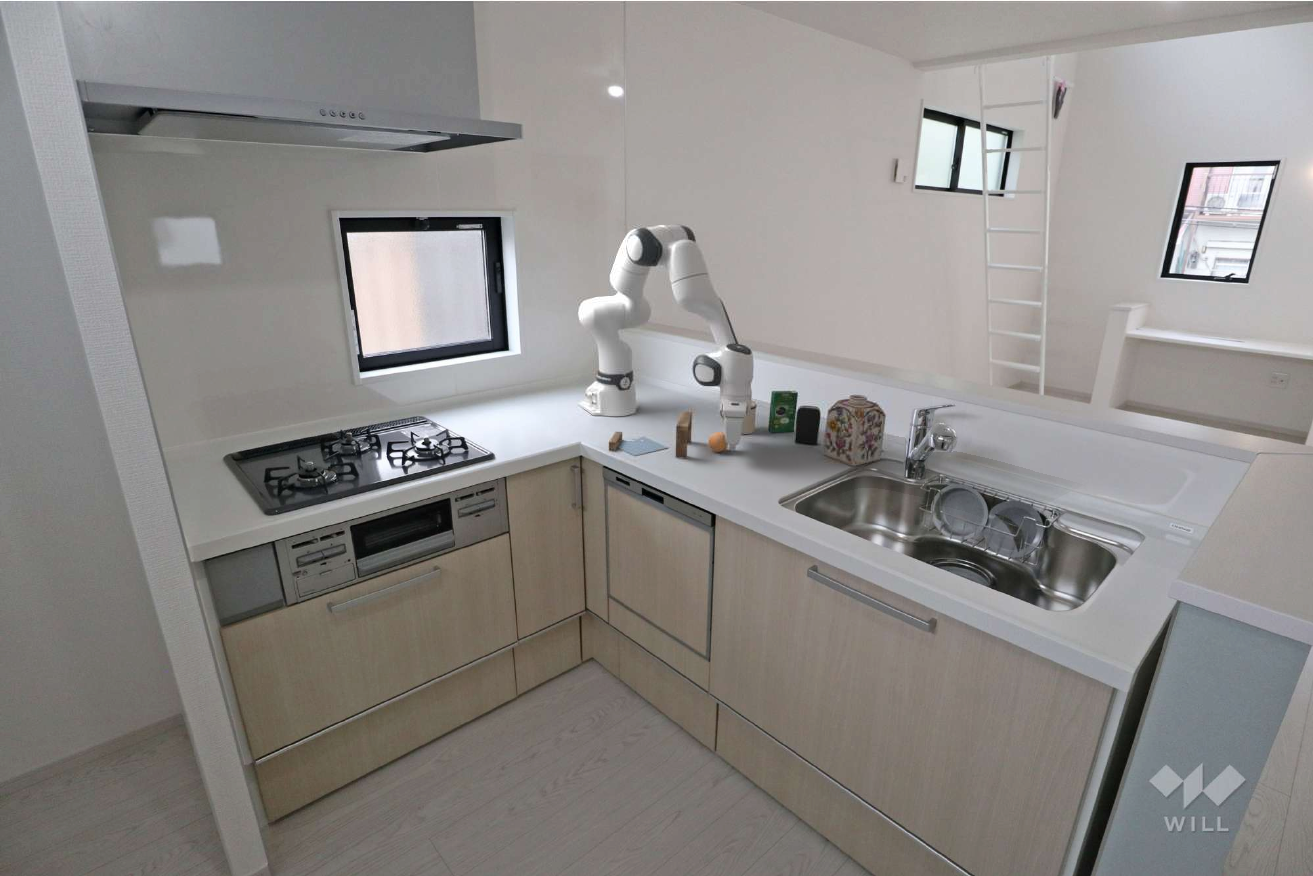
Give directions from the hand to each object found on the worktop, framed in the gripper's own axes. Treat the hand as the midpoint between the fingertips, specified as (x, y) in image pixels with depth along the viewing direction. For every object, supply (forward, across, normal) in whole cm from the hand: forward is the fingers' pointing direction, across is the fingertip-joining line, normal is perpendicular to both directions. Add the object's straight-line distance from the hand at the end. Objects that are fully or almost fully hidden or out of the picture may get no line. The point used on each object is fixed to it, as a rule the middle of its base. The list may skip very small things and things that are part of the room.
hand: (732, 448), depth 195 cm
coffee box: (+1, -22, +15) cm, 26 cm away
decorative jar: (+1, -1, +34) cm, 34 cm away
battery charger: (+1, -12, +22) cm, 25 cm away
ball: (-2, +1, -4) cm, 5 cm away
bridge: (+1, +1, -14) cm, 14 cm away
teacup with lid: (+1, -20, +1) cm, 21 cm away
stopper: (+1, 0, -34) cm, 34 cm away
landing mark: (+1, 0, -27) cm, 27 cm away
